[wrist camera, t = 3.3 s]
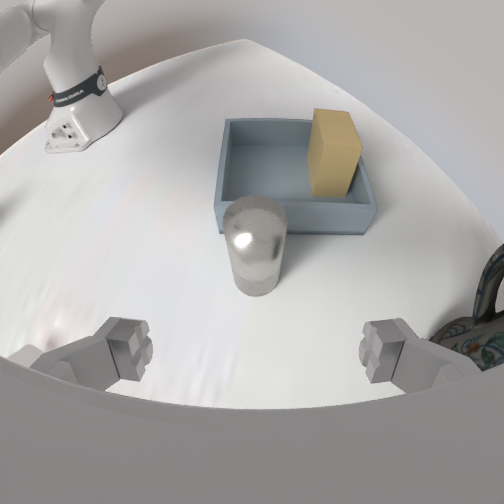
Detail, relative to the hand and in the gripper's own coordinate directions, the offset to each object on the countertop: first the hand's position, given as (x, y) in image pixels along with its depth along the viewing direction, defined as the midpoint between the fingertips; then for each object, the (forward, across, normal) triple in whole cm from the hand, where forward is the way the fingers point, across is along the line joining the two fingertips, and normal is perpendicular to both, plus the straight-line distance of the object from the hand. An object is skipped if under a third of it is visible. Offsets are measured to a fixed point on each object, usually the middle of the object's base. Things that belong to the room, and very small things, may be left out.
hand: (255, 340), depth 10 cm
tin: (+24, 0, -7) cm, 25 cm away
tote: (+34, +5, +4) cm, 35 cm away
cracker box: (+34, +10, +5) cm, 36 cm away
